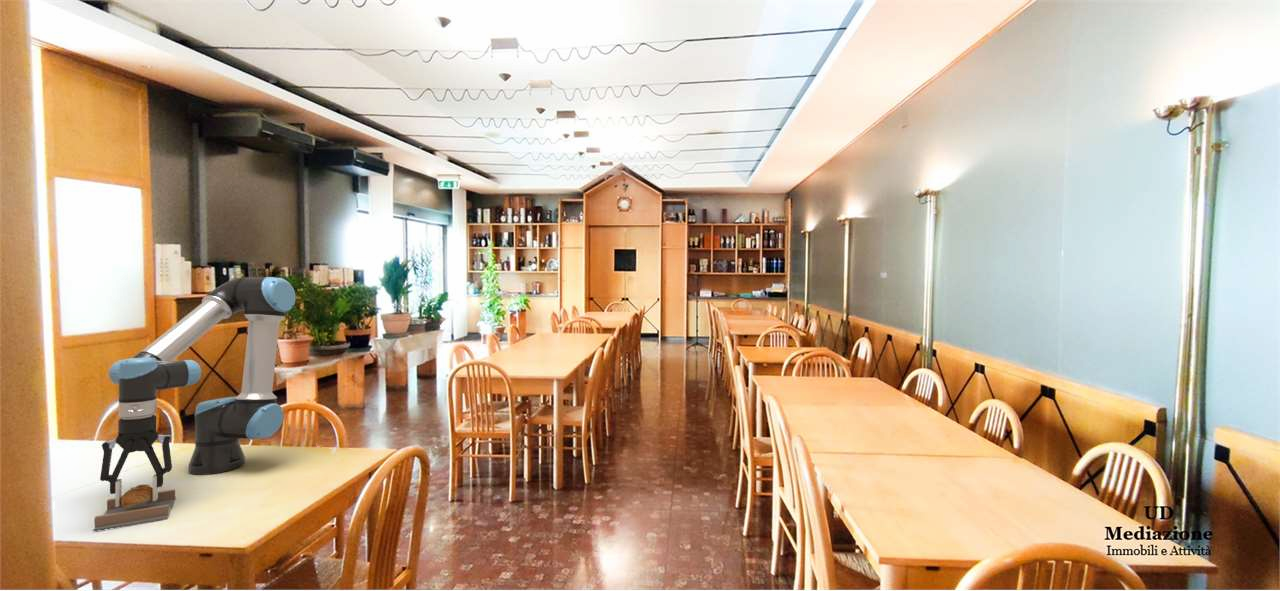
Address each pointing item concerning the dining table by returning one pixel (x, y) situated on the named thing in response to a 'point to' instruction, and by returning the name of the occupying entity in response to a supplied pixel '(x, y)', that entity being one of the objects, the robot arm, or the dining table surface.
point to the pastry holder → (136, 512)
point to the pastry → (137, 496)
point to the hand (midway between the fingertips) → (137, 502)
